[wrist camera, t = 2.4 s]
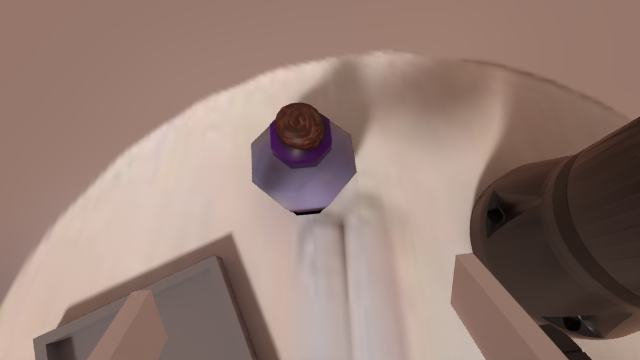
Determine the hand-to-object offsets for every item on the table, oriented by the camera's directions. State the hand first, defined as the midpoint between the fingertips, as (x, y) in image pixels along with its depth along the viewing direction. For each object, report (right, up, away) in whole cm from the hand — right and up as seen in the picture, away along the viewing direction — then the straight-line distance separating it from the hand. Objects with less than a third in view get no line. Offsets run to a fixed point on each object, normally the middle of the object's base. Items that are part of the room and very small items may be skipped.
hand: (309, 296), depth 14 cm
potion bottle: (-1, +4, +17) cm, 18 cm away
